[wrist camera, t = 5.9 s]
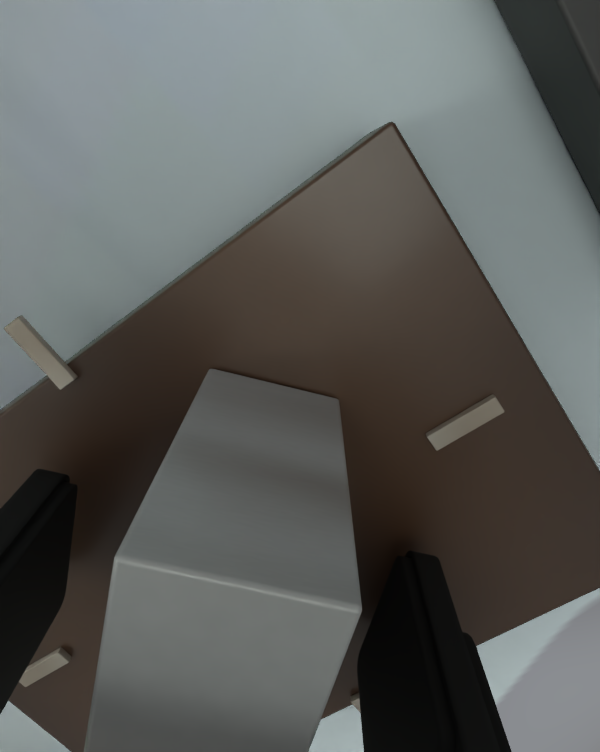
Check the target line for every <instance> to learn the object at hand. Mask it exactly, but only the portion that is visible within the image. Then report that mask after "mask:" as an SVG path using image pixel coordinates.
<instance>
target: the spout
mask: <svg viewBox="0 0 600 752" xmlns="http://www.w3.org/2000/svg"><path fill="white" fill-rule="evenodd" d="M361 612H362V603H361V594H360V585H359V576H358V567H357V558H356V549H355V540H354V531H353V522H352V513H351V504H350V495H349V486H348V477H347V468H346V459H345V450H344V441H343V432H342V423H341V414H340V405H339V400H338V399H336V398H332V397H328V396H324V395H319V394H315V393H311V392H307V391H303V390H299V389H295V388H290V387H286V386H282V385H278V384H274V383H270V382H266V381H261V380H257V379H253V378H249V377H245V376H241V375H237V374H232V373H228V372H224V371H220V370H216V369H209V371H208V372H207V374H206V376H205V378H204V380H203V382H202V384H201V386H200V388H199V390H198V392H197V394H196V396H195V398H194V400H193V402H192V404H191V406H190V408H189V410H188V412H187V414H186V416H185V418H184V420H183V422H182V424H181V426H180V428H179V430H178V432H177V434H176V436H175V438H174V440H173V442H172V444H171V446H170V448H169V450H168V452H167V454H166V455H165V457H164V459H163V461H162V463H161V465H160V467H159V469H158V471H157V473H156V475H155V477H154V479H153V481H152V483H151V485H150V487H149V489H148V491H147V493H146V495H145V497H144V499H143V501H142V503H141V505H140V507H139V509H138V511H137V513H136V515H135V517H134V519H133V521H132V523H131V525H130V527H129V529H128V531H127V533H126V535H125V537H124V539H123V541H122V543H121V545H120V547H119V549H118V551H117V553H116V555H115V557H114V562H113V568H112V575H111V581H110V587H109V594H108V600H107V606H106V613H105V619H104V626H103V632H102V638H101V645H100V651H99V657H98V664H97V670H96V677H95V683H94V689H93V696H92V702H91V709H90V715H89V721H88V728H87V734H86V740H85V747H84V752H308V751H309V749H310V746H311V743H312V741H313V738H314V735H315V733H316V730H317V728H318V725H319V722H320V720H321V717H322V714H323V712H324V709H325V707H326V704H327V701H328V699H329V696H330V694H331V691H332V688H333V686H334V683H335V680H336V678H337V675H338V673H339V670H340V667H341V665H342V662H343V660H344V657H345V654H346V652H347V649H348V646H349V644H350V641H351V639H352V636H353V633H354V631H355V628H356V625H357V623H358V620H359V618H360V615H361Z"/></svg>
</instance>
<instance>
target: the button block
mask: <svg viewBox="0 0 600 752" xmlns="http://www.w3.org/2000/svg"><path fill="white" fill-rule="evenodd" d="M495 2H496V4H497V6H498V8H499V10H500V12H501V14H502V16H503V18H504V20H505V22H506V24H507V27H508V29H509V31H510V33H511V35H512V37H513V39H514V41H515V43H516V45H517V47H518V49H519V51H520V53H521V55H522V57H523V59H524V61H525V63H526V65H527V67H528V69H529V71H530V73H531V75H532V77H533V79H534V81H535V83H536V85H537V87H538V89H539V91H540V93H541V95H542V97H543V99H544V101H545V103H546V105H547V107H548V109H549V111H550V113H551V115H552V117H553V119H554V121H555V123H556V125H557V127H558V129H559V131H560V133H561V135H562V137H563V139H564V141H565V143H566V145H567V147H568V149H569V151H570V154H571V156H572V158H573V160H574V162H575V164H576V166H577V168H578V170H579V172H580V174H581V176H582V178H583V180H584V182H585V184H586V186H587V188H588V190H589V192H590V194H591V196H592V198H593V200H594V202H595V204H596V206H597V208H598V210H599V212H600V0H495Z"/></svg>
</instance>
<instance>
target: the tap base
mask: <svg viewBox="0 0 600 752" xmlns="http://www.w3.org/2000/svg"><path fill="white" fill-rule="evenodd" d="M4 330H5V331H6V332H7V333H8V334H9V335H10V336H11V337H12V338H13V339H14V341H15V342H16V343H17V344H18V345H19V346H20V347H21V348H22V349H23V350H24V351H25V352H26V353H27V354H28V356H29V357H30V358H31V359H32V360H33V361H34V362H35V363H36V364H37V365H38V366H39V367H40V368H41V370H42V371H43V372H44V373H45V374H46V376H45V377H44V378H42V379H41V380H40V381H38V382H37V383H36V384H34V385H33V386H32V387H30V388H29V389H28V390H26V391H25V392H24V393H22V394H21V395H20V396H18V397H17V398H16V399H14V400H13V401H12V402H10V403H9V404H8V405H6V406H5V407H4V408H2V409H1V410H0V509H1V508H2V507H3V505H4V504H5V503H6V502H7V501H8V500H9V499H10V498H11V497H12V495H13V494H14V493H15V492H16V491H17V490H18V489H19V488H20V487H21V486H22V484H23V483H24V482H25V481H26V480H27V479H28V478H29V477H30V476H31V474H32V473H33V472H34V471H35V470H37V469H44V470H48V471H53V472H57V473H62V474H66V475H68V476H69V478H70V483H71V484H76V485H77V487H78V492H77V500H76V509H75V518H74V526H73V535H72V544H71V552H70V561H69V570H68V578H67V587H66V593H65V597H64V600H63V603H62V605H61V608H60V610H59V612H58V613H57V615H56V617H55V619H54V621H53V622H52V624H51V626H50V628H49V629H48V631H47V633H46V635H45V636H44V638H43V640H42V642H41V643H40V645H39V647H38V649H37V651H36V652H35V654H34V656H33V658H32V659H31V661H30V663H29V665H28V666H27V668H26V670H25V672H24V673H23V675H22V677H21V679H20V680H19V682H18V684H17V686H16V688H15V689H14V691H13V693H12V695H11V696H10V698H9V701H10V702H11V703H12V704H13V705H15V706H16V707H17V708H18V709H20V710H21V711H22V712H23V713H24V714H26V715H27V716H28V717H29V718H31V719H32V720H33V721H34V722H36V723H37V724H38V725H39V726H40V727H42V728H43V729H44V730H45V731H47V732H48V733H49V734H50V735H52V736H53V737H54V738H55V739H56V740H58V741H59V742H60V743H61V744H63V745H64V746H65V747H66V748H68V749H69V750H70V751H71V752H84V747H85V740H86V734H87V728H88V721H89V715H90V709H91V702H92V696H93V689H94V683H95V677H96V670H97V664H98V657H99V651H100V645H101V638H102V632H103V626H104V619H105V613H106V606H107V600H108V594H109V587H110V581H111V575H112V568H113V562H114V557H115V555H116V553H117V551H118V549H119V547H120V545H121V543H122V541H123V539H124V537H125V535H126V533H127V531H128V529H129V527H130V525H131V523H132V521H133V519H134V517H135V515H136V513H137V511H138V509H139V507H140V505H141V503H142V501H143V499H144V497H145V495H146V493H147V491H148V489H149V487H150V485H151V483H152V481H153V479H154V477H155V475H156V473H157V471H158V469H159V467H160V465H161V463H162V461H163V459H164V457H165V455H166V454H167V452H168V450H169V448H170V446H171V444H172V442H173V440H174V438H175V436H176V434H177V432H178V430H179V428H180V426H181V424H182V422H183V420H184V418H185V416H186V414H187V412H188V410H189V408H190V406H191V404H192V402H193V400H194V398H195V396H196V394H197V392H198V390H199V388H200V386H201V384H202V382H203V380H204V378H205V376H206V374H207V372H208V371H209V369H216V370H220V371H224V372H228V373H232V374H237V375H241V376H245V377H249V378H253V379H257V380H261V381H266V382H270V383H274V384H278V385H282V386H286V387H290V388H295V389H299V390H303V391H307V392H311V393H315V394H319V395H324V396H328V397H332V398H336V399H338V400H339V405H340V414H341V423H342V432H343V441H344V450H345V459H346V468H347V477H348V486H349V495H350V504H351V513H352V522H353V531H354V540H355V549H356V558H357V567H358V576H359V585H360V594H361V603H362V612H361V615H360V618H359V620H358V623H357V625H356V628H355V631H354V633H353V636H352V639H351V641H350V644H349V646H348V649H347V652H346V654H345V657H344V660H343V662H342V665H341V667H340V670H339V673H338V675H337V678H336V680H335V683H334V686H333V688H332V691H331V694H330V696H329V699H328V701H327V704H326V707H325V709H324V712H323V714H322V717H321V719H323V718H325V717H327V716H329V715H331V714H333V713H335V712H338V711H340V710H342V709H344V708H346V707H348V706H350V705H352V704H353V705H354V706H355V707H356V708H357V709H358V710H359V712H360V713H361V710H360V699H359V687H358V676H357V662H358V656H359V652H360V649H361V646H362V644H363V641H364V638H365V636H366V633H367V631H368V628H369V626H370V623H371V620H372V618H373V615H374V613H375V610H376V608H377V605H378V602H379V600H380V597H381V595H382V592H383V590H384V587H385V584H386V582H387V579H388V577H389V574H390V572H391V569H392V566H393V564H394V561H395V559H396V558H397V556H404V557H405V555H406V553H407V552H408V551H410V550H411V551H415V552H420V553H424V554H429V555H434V556H436V557H438V559H439V561H440V563H441V567H442V570H443V573H444V576H445V579H446V582H447V585H448V588H449V592H450V595H451V598H452V601H453V604H454V607H455V610H456V614H457V617H458V620H459V623H460V626H461V629H462V632H465V633H468V634H469V635H470V636H471V637H472V639H473V641H474V643H475V645H476V646H477V645H479V644H481V643H484V642H486V641H488V640H490V639H492V638H494V637H496V636H498V635H500V634H503V633H505V632H507V631H509V630H511V629H513V628H515V627H517V626H519V625H522V624H524V623H526V622H528V621H530V620H532V619H534V618H536V617H539V616H541V615H543V614H545V613H547V612H549V611H551V610H553V609H555V608H558V607H560V606H562V605H564V604H566V603H568V602H570V601H572V600H574V599H577V598H579V597H581V596H583V595H585V594H587V593H589V592H591V591H594V590H596V589H598V588H600V470H599V469H598V467H597V465H596V464H595V462H594V460H593V459H592V457H591V455H590V453H589V452H588V450H587V448H586V447H585V445H584V443H583V442H582V440H581V438H580V437H579V435H578V433H577V431H576V430H575V428H574V426H573V425H572V423H571V421H570V420H569V418H568V416H567V414H566V413H565V411H564V409H563V408H562V406H561V404H560V403H559V401H558V399H557V398H556V396H555V394H554V392H553V391H552V389H551V387H550V386H549V384H548V382H547V381H546V379H545V377H544V375H543V374H542V372H541V370H540V369H539V367H538V365H537V364H536V362H535V360H534V359H533V357H532V355H531V353H530V352H529V350H528V348H527V347H526V345H525V343H524V342H523V340H522V338H521V336H520V335H519V333H518V331H517V330H516V328H515V326H514V325H513V323H512V321H511V320H510V318H509V316H508V314H507V313H506V311H505V309H504V308H503V306H502V304H501V303H500V301H499V299H498V298H497V296H496V294H495V292H494V291H493V289H492V287H491V286H490V284H489V282H488V281H487V279H486V277H485V275H484V274H483V272H482V270H481V269H480V267H479V265H478V264H477V262H476V260H475V259H474V257H473V255H472V253H471V252H470V250H469V248H468V247H467V245H466V243H465V242H464V240H463V238H462V236H461V235H460V233H459V231H458V230H457V228H456V226H455V225H454V223H453V221H452V220H451V218H450V216H449V214H448V213H447V211H446V209H445V208H444V206H443V204H442V203H441V201H440V199H439V197H438V196H437V194H436V192H435V191H434V189H433V187H432V186H431V184H430V182H429V181H428V179H427V177H426V175H425V174H424V172H423V170H422V169H421V167H420V165H419V164H418V162H417V160H416V159H415V157H414V155H413V153H412V152H411V150H410V148H409V147H408V145H407V143H406V142H405V140H404V138H403V136H402V135H401V133H400V131H399V130H398V128H397V126H396V125H395V123H393V122H389V123H387V124H385V125H383V126H381V127H379V128H378V129H376V130H374V131H372V132H370V133H369V134H367V135H366V136H365V137H363V138H362V139H361V140H360V141H358V142H357V143H356V144H354V145H353V146H352V147H350V148H349V149H348V150H346V151H345V152H344V153H342V154H341V155H340V156H338V157H337V158H336V159H334V160H333V161H332V162H330V163H329V164H328V165H326V166H325V167H324V168H322V169H321V170H320V171H318V172H317V173H316V174H314V175H313V176H312V177H310V178H309V179H308V180H306V181H305V182H304V183H302V184H301V185H300V186H298V187H297V188H296V189H294V190H293V191H292V192H290V193H289V194H288V195H286V196H285V197H284V198H282V199H281V200H280V201H278V202H277V203H276V204H274V205H273V206H272V207H270V208H269V209H268V210H266V211H265V212H264V213H262V214H261V215H260V216H258V217H257V218H256V219H254V220H253V221H252V222H250V223H249V224H248V225H246V226H245V227H244V228H242V229H241V230H240V231H238V232H237V233H236V234H234V235H233V236H232V237H230V238H229V239H228V240H226V241H225V242H224V243H222V244H221V245H220V246H218V247H217V248H216V249H214V250H213V251H212V252H210V253H209V254H208V255H206V256H205V257H204V258H202V259H201V260H200V261H198V262H197V263H196V264H194V265H193V266H192V267H190V268H189V269H188V270H186V271H185V272H184V273H182V274H181V275H180V276H178V277H177V278H176V279H174V280H173V281H172V282H170V283H169V284H168V285H166V286H165V287H164V288H162V289H161V290H160V291H158V292H157V293H156V294H154V295H153V296H152V297H150V298H149V299H148V300H146V301H145V302H144V303H142V304H141V305H140V306H138V307H137V308H136V309H134V310H133V311H132V312H130V313H129V314H128V315H126V316H125V317H124V318H122V319H121V320H120V321H118V322H117V323H116V324H114V325H113V326H112V327H110V328H109V329H108V330H106V331H105V332H104V333H102V334H101V335H100V336H98V337H97V338H96V339H94V340H93V341H92V342H90V343H89V344H88V345H86V346H85V347H84V348H82V349H81V350H80V351H78V352H77V353H76V354H74V355H73V356H72V357H70V358H69V359H68V360H66V361H65V362H64V361H63V360H62V359H61V357H60V356H59V355H58V354H57V353H56V352H55V351H54V350H53V349H52V348H51V346H50V345H49V344H48V343H47V342H46V341H45V340H44V339H43V338H42V337H41V335H40V334H39V333H38V332H37V331H36V330H35V329H34V328H33V327H32V326H31V324H30V323H29V322H28V321H27V320H26V319H25V318H24V317H23V316H22V315H21V316H19V317H17V318H16V319H15V320H13V321H12V322H11V323H10V324H8V325H7V326H6V327H5V328H4Z"/></svg>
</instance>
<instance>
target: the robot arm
mask: <svg viewBox="0 0 600 752" xmlns="http://www.w3.org/2000/svg"><path fill="white" fill-rule="evenodd" d="M77 492H78V487H77V485H76V484H71V483H70V478H69V476H68V475H66V474H62V473H57V472H53V471H48V470H44V469H37V470H35V471H34V472H33V473H32V474H31V476H30V477H29V478H28V479H27V480H26V481H25V482H24V483H23V484H22V486H21V487H20V488H19V489H18V490H17V491H16V492H15V493H14V494H13V495H12V497H11V498H10V499H9V500H8V501H7V502H6V503H5V504H4V505H3V507H2V508H1V509H0V714H1V712H2V710H3V709H4V707H5V705H6V703H7V702H8V700H9V698H10V696H11V695H12V693H13V691H14V689H15V688H16V686H17V684H18V682H19V680H20V679H21V677H22V675H23V673H24V672H25V670H26V668H27V666H28V665H29V663H30V661H31V659H32V658H33V656H34V654H35V652H36V651H37V649H38V647H39V645H40V643H41V642H42V640H43V638H44V636H45V635H46V633H47V631H48V629H49V628H50V626H51V624H52V622H53V621H54V619H55V617H56V615H57V613H58V612H59V610H60V608H61V605H62V603H63V600H64V597H65V593H66V587H67V578H68V570H69V561H70V552H71V544H72V535H73V526H74V518H75V509H76V500H77ZM357 676H358V687H359V699H360V710H361V722H362V733H363V745H364V752H511V749H510V746H509V743H508V740H507V737H506V734H505V732H504V728H503V726H502V722H501V719H500V717H499V714H498V711H497V708H496V705H495V702H494V699H493V696H492V693H491V690H490V687H489V684H488V681H487V678H486V675H485V672H484V669H483V666H482V663H481V660H480V657H479V654H478V651H477V648H476V645H475V643H474V641H473V639H472V637H471V636H470V635H469V634H468V633H465V632H462V629H461V626H460V623H459V620H458V617H457V614H456V610H455V607H454V604H453V601H452V598H451V595H450V592H449V588H448V585H447V582H446V579H445V576H444V573H443V570H442V567H441V563H440V561H439V559H438V557H436V556H434V555H429V554H424V553H420V552H415V551H411V550H410V551H408V552H407V553H406V555H405V557H404V556H397V558H396V559H395V561H394V564H393V566H392V569H391V572H390V574H389V577H388V579H387V582H386V584H385V587H384V590H383V592H382V595H381V597H380V600H379V602H378V605H377V608H376V610H375V613H374V615H373V618H372V620H371V623H370V626H369V628H368V631H367V633H366V636H365V638H364V641H363V644H362V646H361V649H360V652H359V656H358V662H357Z"/></svg>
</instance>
